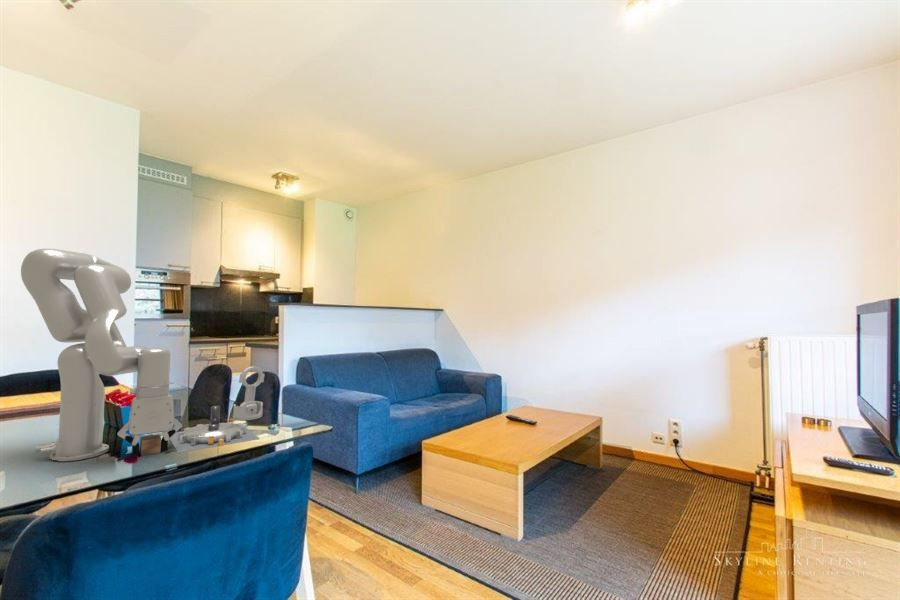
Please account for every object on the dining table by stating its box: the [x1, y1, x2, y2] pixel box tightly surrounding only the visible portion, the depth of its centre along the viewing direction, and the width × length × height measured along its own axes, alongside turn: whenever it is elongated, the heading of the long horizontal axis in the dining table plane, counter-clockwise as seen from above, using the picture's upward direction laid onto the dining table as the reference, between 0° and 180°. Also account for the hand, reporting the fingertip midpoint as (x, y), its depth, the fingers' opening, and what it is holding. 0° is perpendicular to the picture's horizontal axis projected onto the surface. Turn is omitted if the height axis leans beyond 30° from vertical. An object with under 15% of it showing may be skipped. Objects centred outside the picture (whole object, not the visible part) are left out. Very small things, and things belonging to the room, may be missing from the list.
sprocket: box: [178, 405, 247, 445], centre depth 134 cm, size 19×19×8 cm
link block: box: [139, 433, 162, 456], centre depth 118 cm, size 4×4×6 cm
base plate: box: [169, 422, 260, 454], centre depth 134 cm, size 22×23×3 cm
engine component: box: [232, 365, 265, 421], centre depth 159 cm, size 11×20×10 cm
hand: (149, 455), depth 118 cm, fingers open, 5 cm apart
